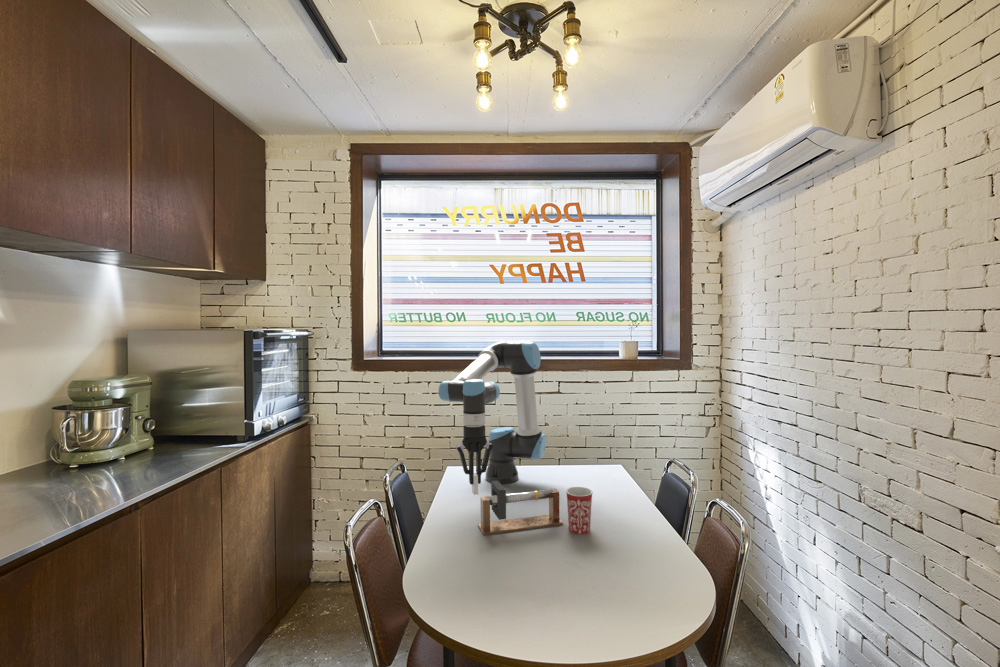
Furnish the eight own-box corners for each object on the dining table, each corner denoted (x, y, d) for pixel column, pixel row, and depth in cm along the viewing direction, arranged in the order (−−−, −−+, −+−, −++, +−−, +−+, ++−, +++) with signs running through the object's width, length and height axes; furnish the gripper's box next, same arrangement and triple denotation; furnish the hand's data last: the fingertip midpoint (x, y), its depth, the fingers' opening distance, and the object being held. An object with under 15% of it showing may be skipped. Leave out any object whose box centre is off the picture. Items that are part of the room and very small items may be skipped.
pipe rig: (483, 535, 161) (483, 501, 160) (478, 525, 168) (477, 493, 168) (563, 524, 168) (562, 492, 168) (554, 516, 176) (554, 484, 176)
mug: (593, 536, 159) (593, 496, 159) (566, 534, 160) (565, 495, 160) (592, 521, 171) (591, 483, 171) (566, 519, 173) (566, 482, 173)
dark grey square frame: (499, 519, 161) (498, 490, 161) (491, 509, 171) (491, 481, 170) (506, 518, 162) (505, 489, 161) (498, 508, 171) (497, 480, 171)
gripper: (457, 428, 158) (458, 499, 158) (495, 425, 162) (496, 494, 162) (453, 424, 165) (454, 491, 166) (490, 421, 169) (490, 487, 169)
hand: (475, 493), depth 164 cm, fingers closed
